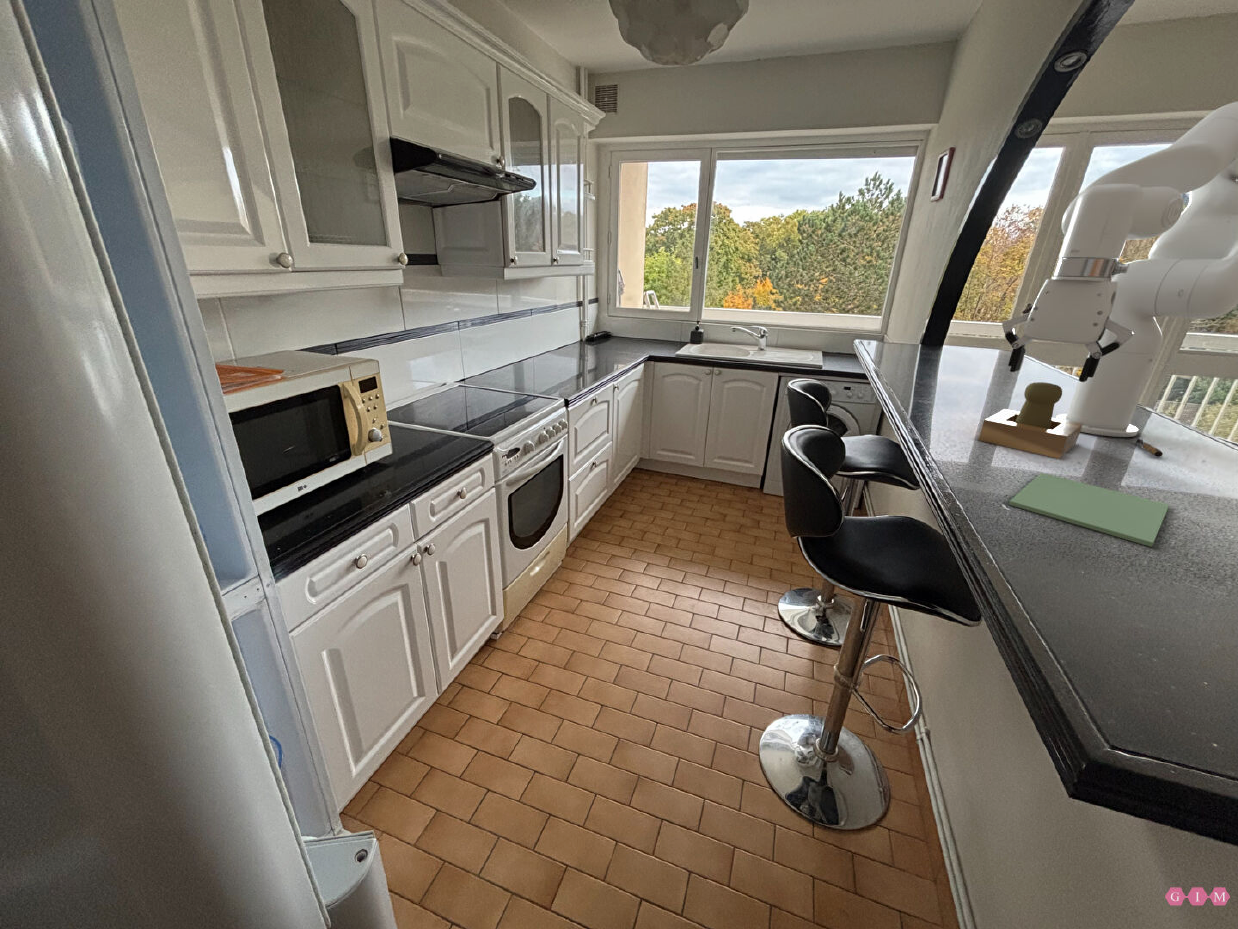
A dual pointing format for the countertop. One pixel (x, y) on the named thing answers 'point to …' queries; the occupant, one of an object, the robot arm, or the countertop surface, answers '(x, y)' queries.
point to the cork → (1039, 404)
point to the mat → (1093, 508)
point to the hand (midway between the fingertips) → (1047, 375)
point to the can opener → (1150, 448)
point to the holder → (1030, 434)
